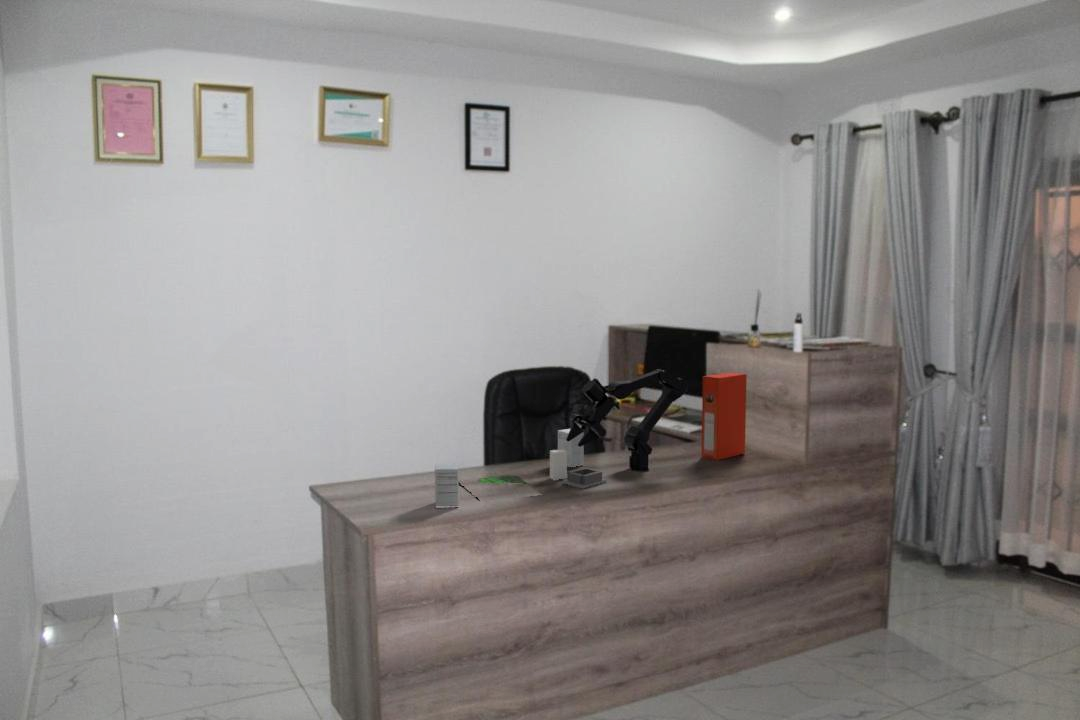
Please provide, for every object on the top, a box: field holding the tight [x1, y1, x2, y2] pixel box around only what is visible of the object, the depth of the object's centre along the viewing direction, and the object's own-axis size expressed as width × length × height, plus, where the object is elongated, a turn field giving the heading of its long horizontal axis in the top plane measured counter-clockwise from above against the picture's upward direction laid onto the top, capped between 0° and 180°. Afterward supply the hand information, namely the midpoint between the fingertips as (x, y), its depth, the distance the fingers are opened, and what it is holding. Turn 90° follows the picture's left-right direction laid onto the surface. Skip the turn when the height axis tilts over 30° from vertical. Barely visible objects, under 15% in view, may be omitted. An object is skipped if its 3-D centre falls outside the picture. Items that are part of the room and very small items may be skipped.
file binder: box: [701, 372, 747, 461], centre depth 338 cm, size 8×17×32 cm, turn 130°
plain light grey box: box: [549, 449, 568, 481], centre depth 304 cm, size 5×4×10 cm
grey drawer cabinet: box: [434, 463, 460, 507], centre depth 271 cm, size 7×7×13 cm
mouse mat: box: [478, 475, 531, 486], centre depth 291 cm, size 27×22×1 cm
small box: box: [557, 428, 585, 469], centre depth 324 cm, size 8×6×13 cm
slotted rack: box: [562, 467, 607, 489], centre depth 298 cm, size 12×9×4 cm
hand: (572, 443), depth 305 cm, fingers open, 9 cm apart
